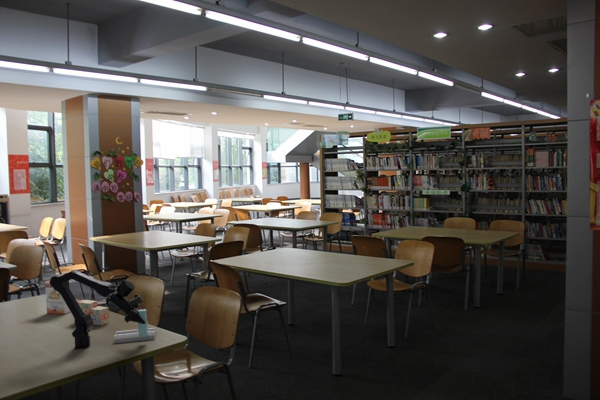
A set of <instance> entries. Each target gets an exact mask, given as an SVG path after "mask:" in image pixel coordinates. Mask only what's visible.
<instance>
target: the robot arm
mask: <svg viewBox="0 0 600 400" xmlns="http://www.w3.org/2000/svg"><path fill="white" fill-rule="evenodd" d="M49 280H50V285H51V286H52V287H53V289H54V290H56V291H57V292H59V293H60V294H61V296H62V298H63V299H64V301H65V303H66V305H67V306H68V308H69V310H70V311H71V312H70V313H71V314H72V316H73V319H74V326H75V329H74V330H73V331H72V332H71V335H72V337H73V338H74V348H73V349H75V350H76V349H85V348H86V349H87V348H89V346H90V345H91V343H92V340H91V335H90V332H91V330H92V328H93V327H94V323H93V319H92V318H91V315H90V314H87V315H86V314H85V313H84V312H83V311H82V309H81V307H80V306H79V304H78V302H77V301H78V300H77V299H76V298H75V296H74V294H73V292H72V291H71V289H70V280H73V281H75V282H77V283H80V284H82V285H84V286H86V287H88V288H91V289H92V290H94V291H95V292H96V293H97V294H98V295H99V296H101V297H103V298H105V297H106V298H105V305H109V303H111V304H112V305H114V306H115V308H117V310H118V311H119V312H120V311H121V312H122V313H124V322H126V323H127V324H128V323H129V322H134V323H137V324H138V323H141V324H145V323H146V322H145V321H144V320H143V319H142V318H141V316H140V315H139V311H138V310H141V307H140V306H141V303H143V302H144V298H143V297H142V295H141V294H138V293H136V294H134V296H133V298H131V299H130V298H127V297H128V296H130V294H132V293H133V291H134V290H135V289H136V287H135V284H133V283H132V282H130V281H128V280H127V279H123V280H122V282H121V283H120V284H119V285H115V284H114V283H111V282H109V281H103V280H98V279H96V278H93V277H91V276H89V275H87V274H85V273H82V272H80V271H79V270H77V269H74V270H71V271H68V272H67V273H58V274H56V275H54V276H52V277H50V279H49ZM108 296H109V297H108Z"/></svg>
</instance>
